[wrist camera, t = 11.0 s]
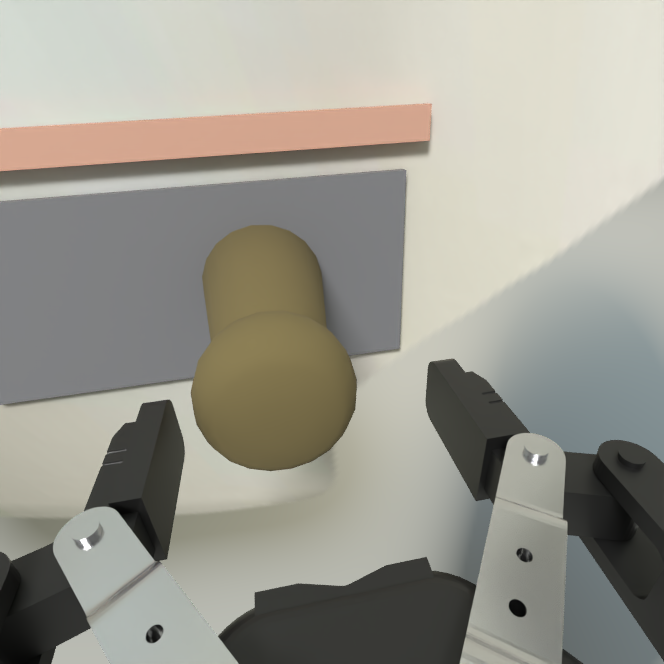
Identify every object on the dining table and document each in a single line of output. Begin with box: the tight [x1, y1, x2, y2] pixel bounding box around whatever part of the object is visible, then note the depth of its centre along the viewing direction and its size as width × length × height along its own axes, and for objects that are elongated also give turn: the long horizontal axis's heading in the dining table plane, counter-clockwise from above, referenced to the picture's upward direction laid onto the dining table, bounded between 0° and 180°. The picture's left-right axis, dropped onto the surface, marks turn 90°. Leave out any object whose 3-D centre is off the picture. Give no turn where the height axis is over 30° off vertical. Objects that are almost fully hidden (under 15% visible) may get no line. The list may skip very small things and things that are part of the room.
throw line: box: [0, 104, 432, 171], centre depth 18 cm, size 24×2×1 cm, turn 93°
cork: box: [191, 225, 357, 471], centre depth 17 cm, size 6×6×11 cm
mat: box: [0, 169, 406, 405], centre depth 21 cm, size 22×10×1 cm, turn 93°
